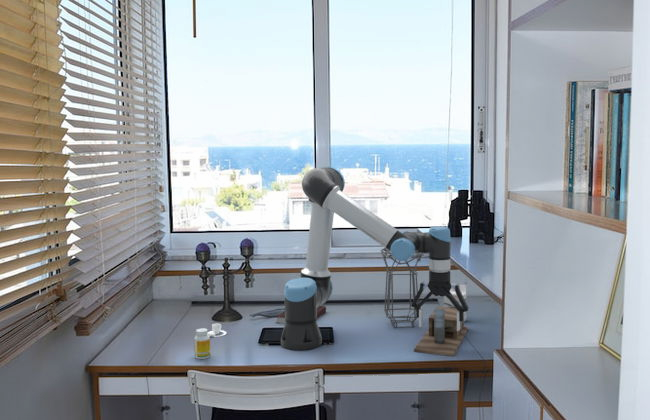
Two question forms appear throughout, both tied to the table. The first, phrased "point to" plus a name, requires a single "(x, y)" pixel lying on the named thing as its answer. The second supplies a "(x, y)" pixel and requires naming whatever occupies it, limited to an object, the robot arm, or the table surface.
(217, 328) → the teacup and saucer
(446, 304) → the ink box
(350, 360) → the table surface
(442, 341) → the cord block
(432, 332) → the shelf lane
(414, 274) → the geometric lantern
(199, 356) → the supplement bottle
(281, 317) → the book
